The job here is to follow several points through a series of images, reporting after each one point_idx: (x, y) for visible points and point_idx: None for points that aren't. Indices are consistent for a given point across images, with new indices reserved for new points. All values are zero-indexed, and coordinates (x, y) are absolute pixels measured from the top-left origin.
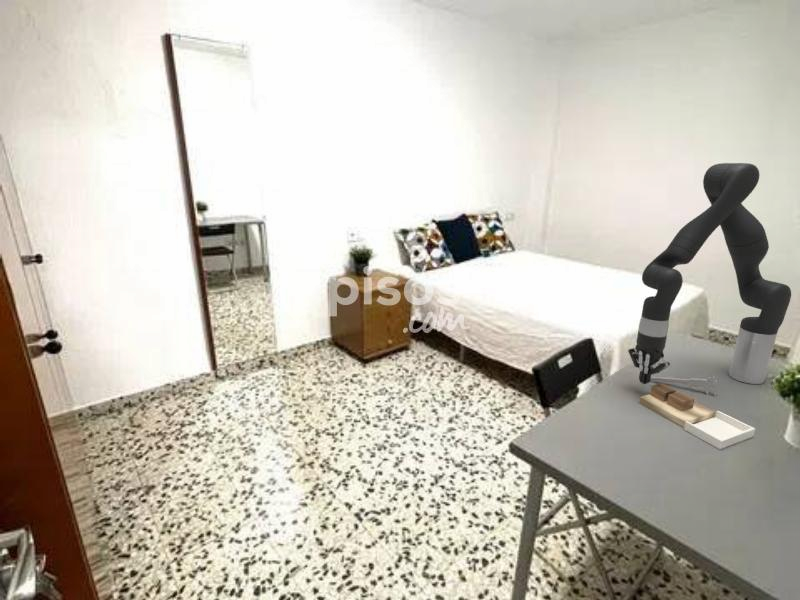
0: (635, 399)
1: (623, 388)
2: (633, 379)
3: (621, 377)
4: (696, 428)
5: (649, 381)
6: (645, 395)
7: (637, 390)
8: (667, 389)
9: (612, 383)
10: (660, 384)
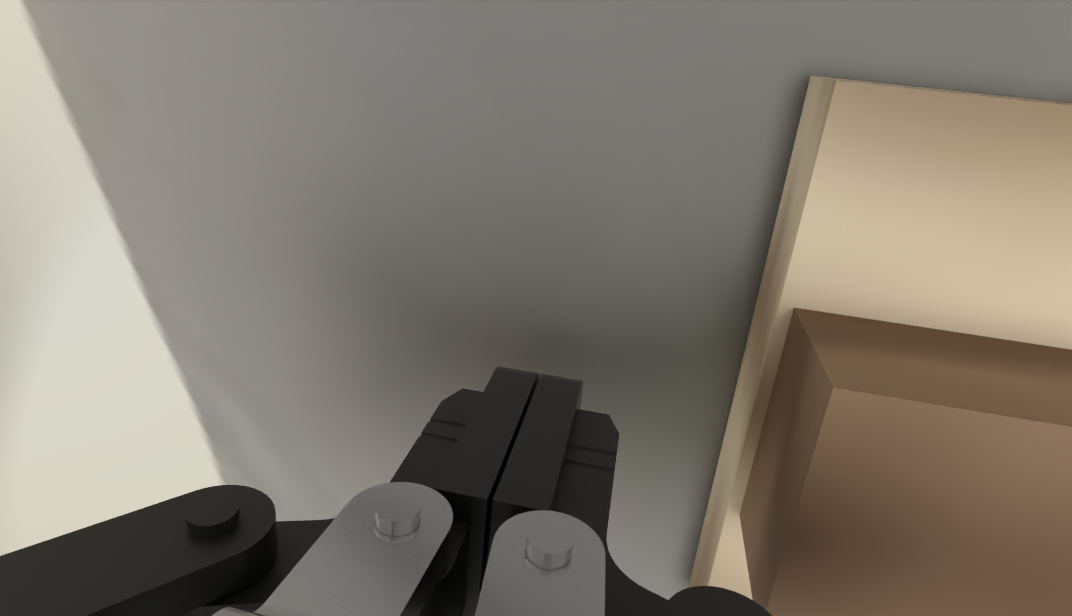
0: (621, 545)
1: (382, 423)
2: (251, 76)
3: (152, 175)
4: None
5: (614, 442)
6: (715, 575)
7: (496, 334)
8: (1045, 563)
9: (243, 415)
10: (847, 478)
